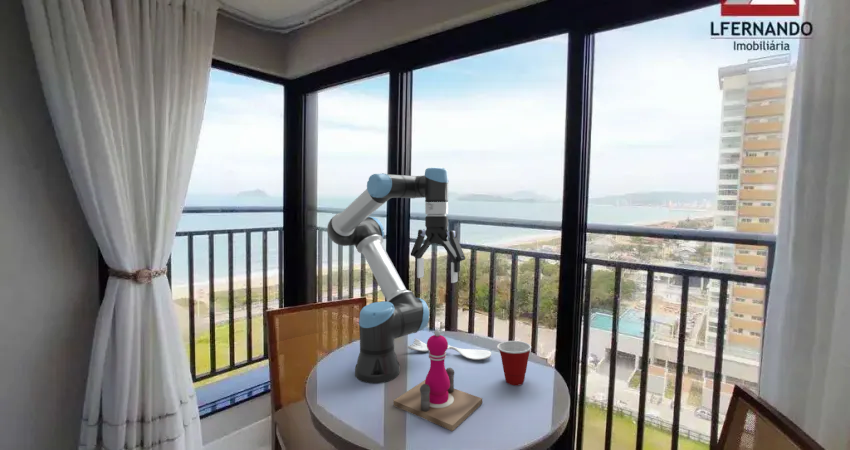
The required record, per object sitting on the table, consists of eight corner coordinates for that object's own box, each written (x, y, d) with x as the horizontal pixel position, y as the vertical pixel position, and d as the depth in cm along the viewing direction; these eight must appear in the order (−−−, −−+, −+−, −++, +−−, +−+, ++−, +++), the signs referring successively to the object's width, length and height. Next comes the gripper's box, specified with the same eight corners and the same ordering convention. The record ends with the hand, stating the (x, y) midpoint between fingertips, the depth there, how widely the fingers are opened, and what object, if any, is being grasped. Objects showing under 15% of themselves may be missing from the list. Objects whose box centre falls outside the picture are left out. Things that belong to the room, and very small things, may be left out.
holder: (393, 405, 104) (393, 376, 103) (426, 383, 116) (426, 357, 116) (452, 431, 92) (452, 398, 91) (482, 403, 104) (482, 375, 104)
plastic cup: (506, 370, 125) (506, 336, 125) (536, 379, 118) (536, 344, 118) (490, 382, 117) (490, 346, 116) (522, 393, 110) (522, 354, 109)
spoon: (414, 345, 149) (414, 337, 149) (492, 355, 139) (492, 346, 138) (406, 354, 140) (406, 345, 140) (489, 365, 130) (489, 355, 130)
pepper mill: (448, 406, 100) (448, 335, 99) (422, 404, 101) (422, 333, 100) (451, 393, 107) (451, 326, 106) (427, 391, 108) (427, 325, 107)
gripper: (400, 215, 123) (400, 277, 124) (463, 216, 108) (463, 286, 109) (414, 214, 129) (414, 273, 130) (476, 215, 114) (475, 282, 115)
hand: (436, 279), depth 119 cm, fingers open, 13 cm apart
